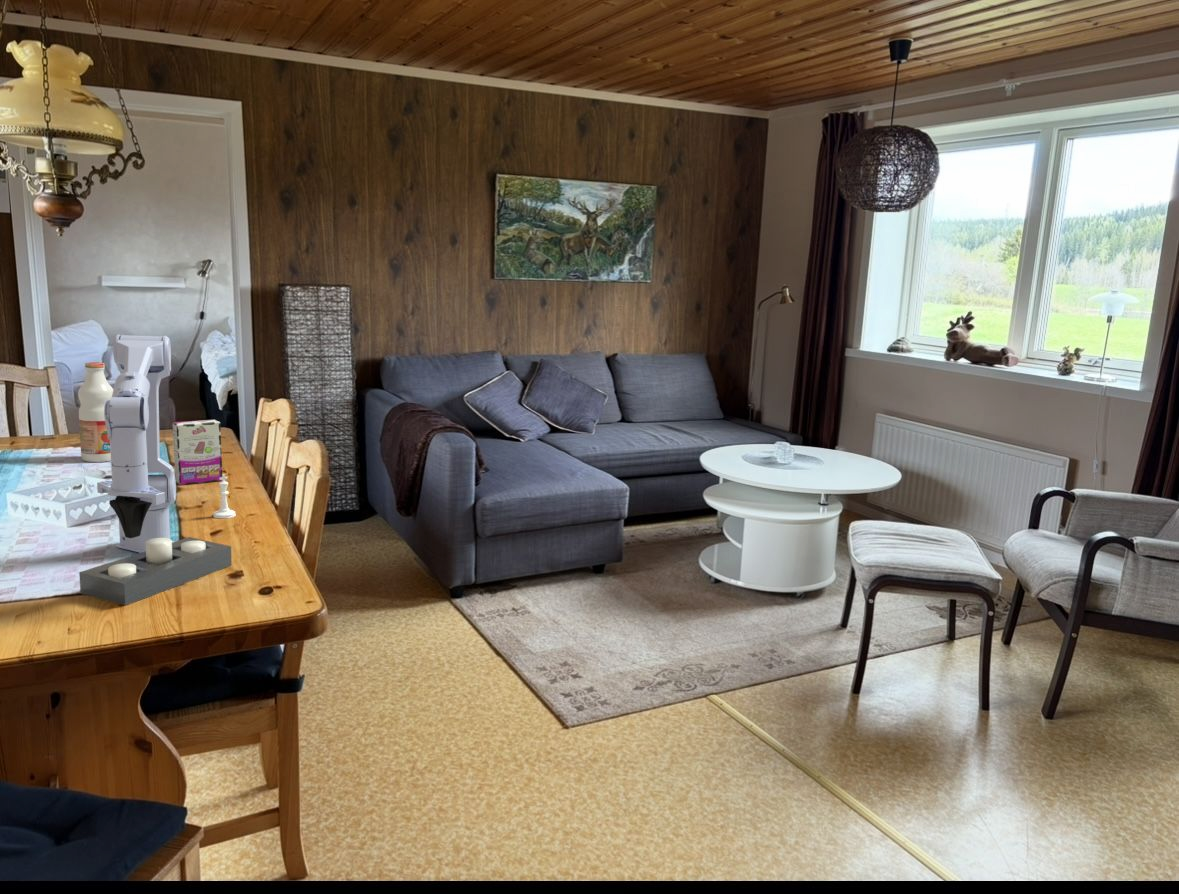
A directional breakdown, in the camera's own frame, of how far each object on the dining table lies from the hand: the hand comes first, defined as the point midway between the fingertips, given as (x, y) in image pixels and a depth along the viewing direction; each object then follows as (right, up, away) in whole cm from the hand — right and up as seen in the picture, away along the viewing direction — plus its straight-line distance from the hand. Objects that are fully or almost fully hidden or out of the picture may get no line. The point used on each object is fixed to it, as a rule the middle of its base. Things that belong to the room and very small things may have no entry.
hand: (132, 536), depth 157 cm
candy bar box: (-23, +7, +77) cm, 81 cm away
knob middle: (+2, -6, +6) cm, 9 cm away
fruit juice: (-60, +13, +95) cm, 112 cm away
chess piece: (-4, 0, +48) cm, 48 cm away
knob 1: (-1, -10, 0) cm, 10 cm away
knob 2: (+5, -7, +14) cm, 17 cm away
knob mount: (+2, -9, +7) cm, 11 cm away
